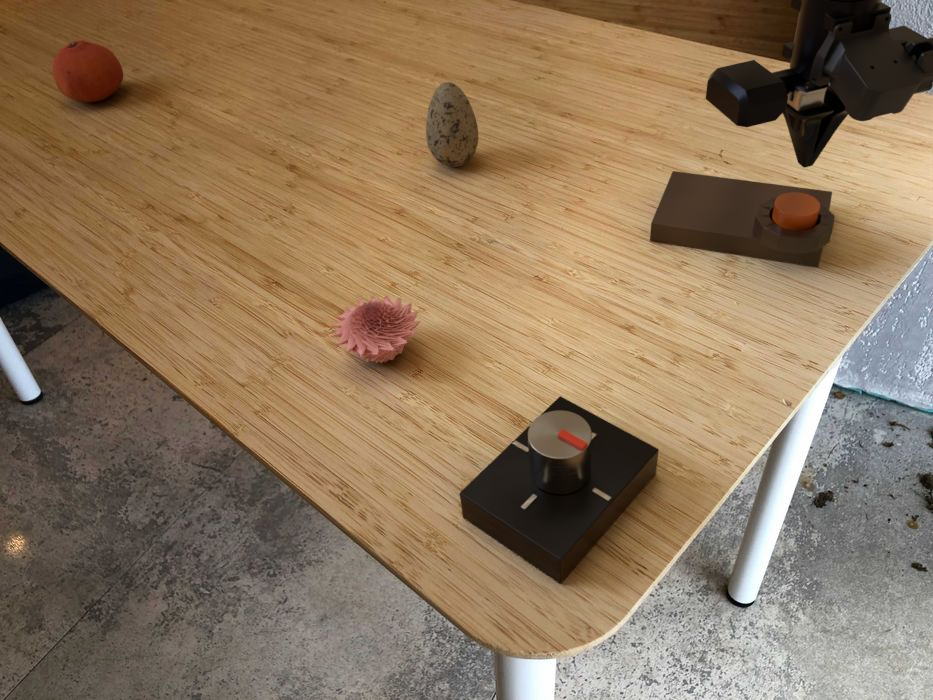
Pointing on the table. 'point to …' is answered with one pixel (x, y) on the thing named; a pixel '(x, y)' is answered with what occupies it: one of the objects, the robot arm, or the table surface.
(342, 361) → the table surface
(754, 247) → the button block
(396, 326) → the flower
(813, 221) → the button
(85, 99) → the fruit
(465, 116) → the decorative egg
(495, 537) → the panel
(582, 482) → the dial
